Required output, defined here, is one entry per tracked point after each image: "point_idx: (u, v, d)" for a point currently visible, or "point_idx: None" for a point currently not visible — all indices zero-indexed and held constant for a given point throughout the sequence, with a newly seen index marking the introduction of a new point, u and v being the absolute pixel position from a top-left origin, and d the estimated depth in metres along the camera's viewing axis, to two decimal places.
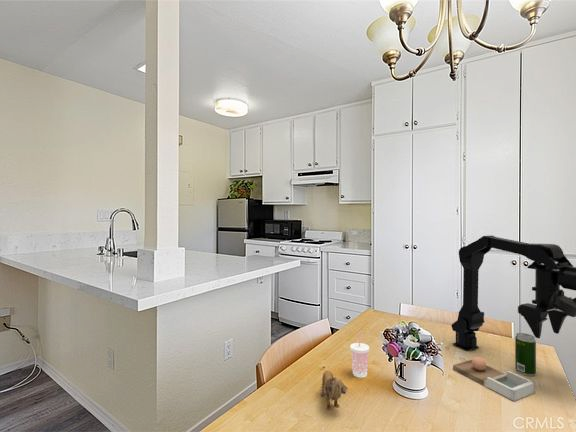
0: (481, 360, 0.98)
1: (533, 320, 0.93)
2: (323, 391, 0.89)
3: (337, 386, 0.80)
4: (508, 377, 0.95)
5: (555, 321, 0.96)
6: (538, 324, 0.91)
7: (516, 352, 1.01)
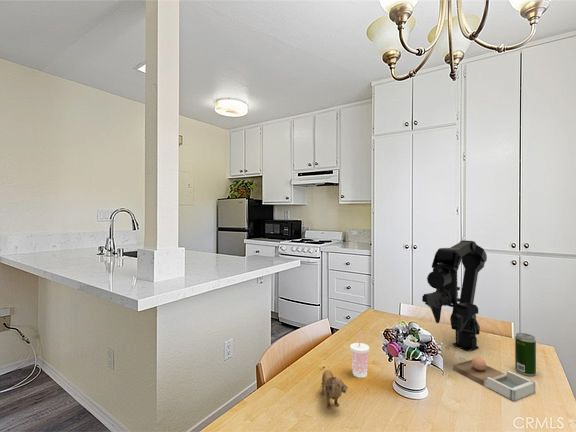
0: (481, 360, 0.98)
1: None
2: (323, 390, 0.90)
3: (338, 385, 0.80)
4: (508, 377, 0.95)
5: None
6: None
7: (516, 352, 1.01)
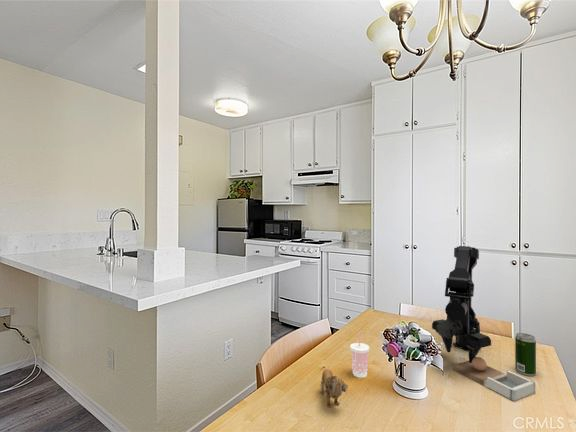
0: (482, 361, 0.98)
1: None
2: (323, 389, 0.90)
3: (338, 384, 0.81)
4: (508, 377, 0.95)
5: None
6: None
7: (516, 351, 1.01)
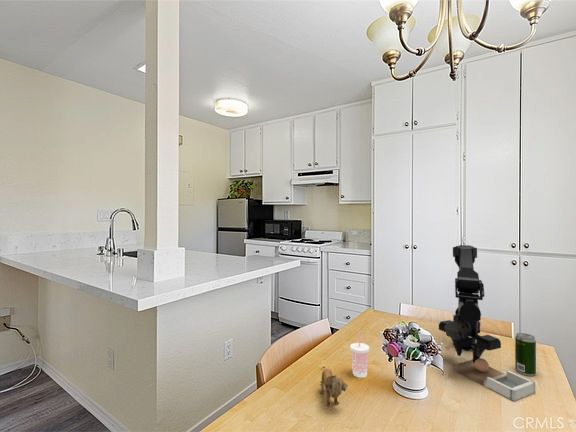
0: (486, 365, 0.97)
1: None
2: (322, 389, 0.90)
3: (338, 383, 0.81)
4: (508, 377, 0.95)
5: None
6: None
7: (516, 351, 1.01)
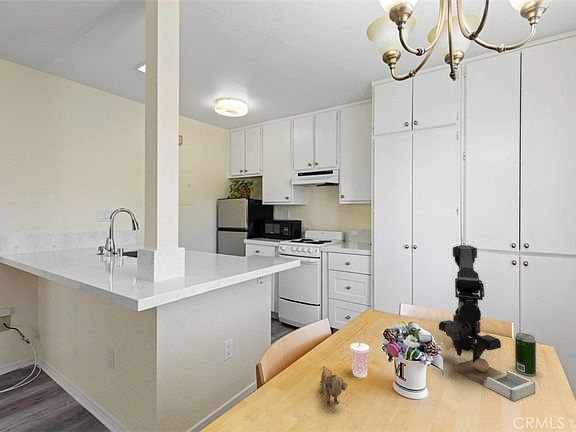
0: (486, 365, 0.97)
1: None
2: (322, 388, 0.91)
3: (338, 383, 0.81)
4: (508, 377, 0.95)
5: None
6: None
7: (516, 352, 1.01)
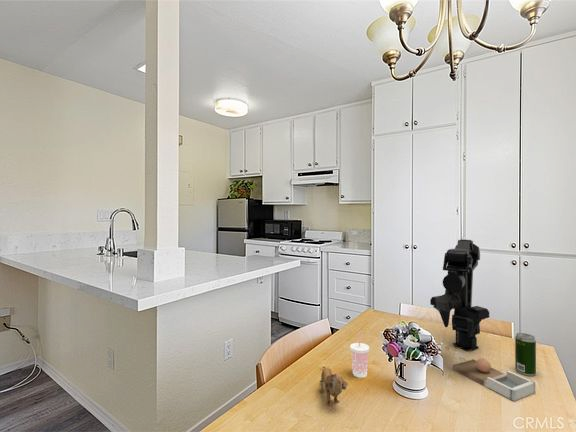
0: (488, 366, 0.97)
1: None
2: (322, 388, 0.91)
3: (338, 382, 0.82)
4: (508, 377, 0.95)
5: None
6: None
7: (516, 351, 1.01)
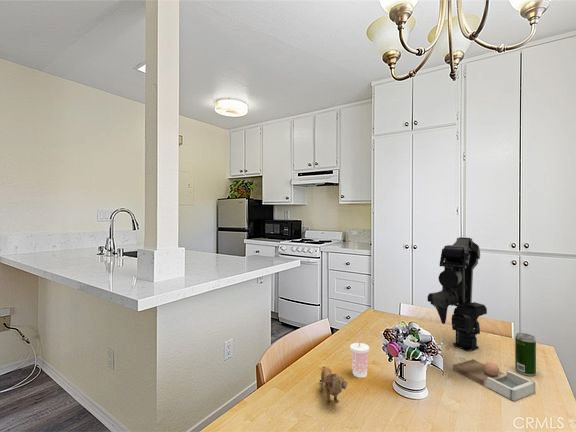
0: None
1: None
2: (322, 387, 0.91)
3: (338, 381, 0.82)
4: (508, 377, 0.95)
5: None
6: None
7: (516, 351, 1.01)
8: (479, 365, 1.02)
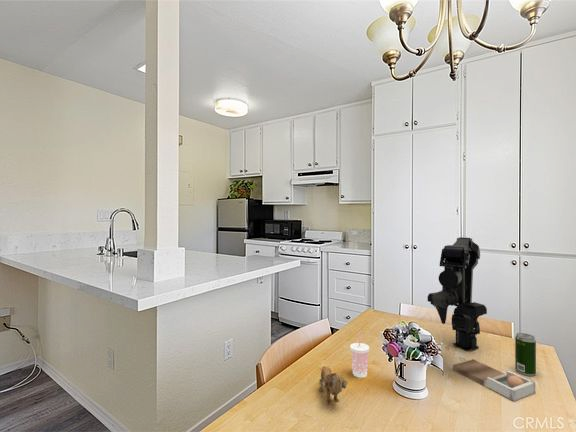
0: (512, 376, 0.90)
1: None
2: (322, 387, 0.92)
3: (338, 381, 0.82)
4: (508, 377, 0.95)
5: None
6: None
7: (516, 352, 1.01)
8: (479, 365, 1.02)
